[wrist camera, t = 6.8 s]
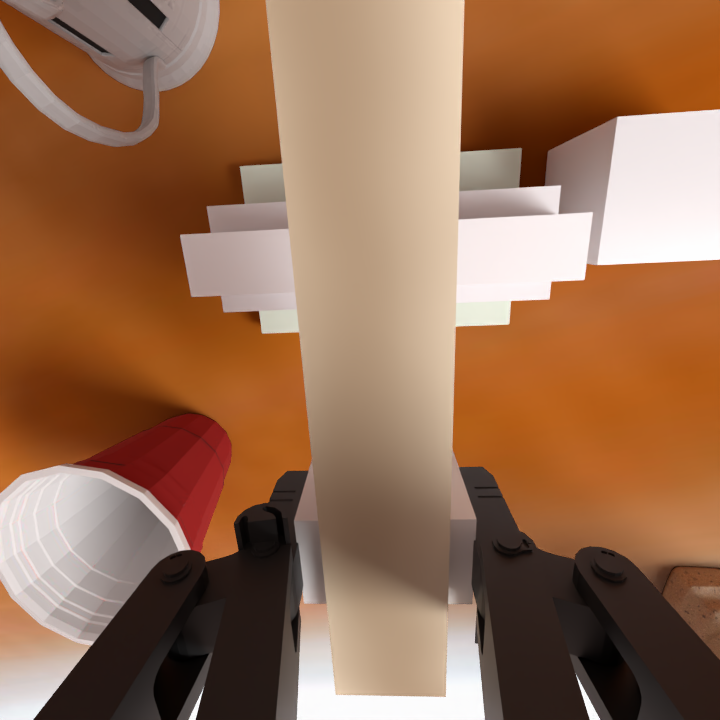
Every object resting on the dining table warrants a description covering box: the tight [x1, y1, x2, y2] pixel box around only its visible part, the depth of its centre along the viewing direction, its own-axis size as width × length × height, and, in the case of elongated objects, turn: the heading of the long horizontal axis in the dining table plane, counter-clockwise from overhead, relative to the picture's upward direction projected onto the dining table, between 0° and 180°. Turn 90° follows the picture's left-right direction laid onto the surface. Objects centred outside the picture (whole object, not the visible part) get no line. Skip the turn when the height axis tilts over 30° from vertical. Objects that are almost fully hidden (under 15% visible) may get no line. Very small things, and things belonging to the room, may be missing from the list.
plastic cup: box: [0, 413, 231, 645], centre depth 24 cm, size 11×11×12 cm
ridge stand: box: [180, 148, 593, 333], centre depth 20 cm, size 16×10×10 cm, turn 93°
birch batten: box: [266, 0, 464, 697], centre depth 9 cm, size 3×22×3 cm, turn 3°
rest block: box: [545, 110, 720, 265], centre depth 20 cm, size 8×6×7 cm
